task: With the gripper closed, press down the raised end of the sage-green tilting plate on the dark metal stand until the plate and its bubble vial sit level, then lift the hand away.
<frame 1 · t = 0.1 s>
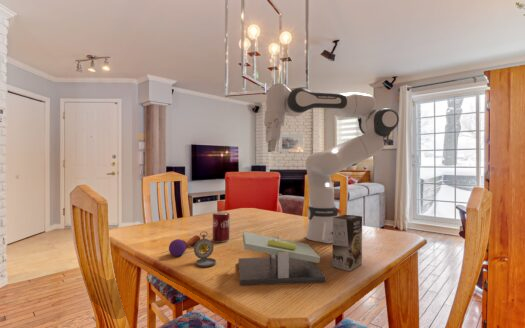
hand: (271, 151, 126), 39 cm above the table, tool pointing down, fingers open, 8 cm apart
coffee box: (347, 266, 93), on the table
levelling plate: (279, 243, 88), point 9 cm above the table, hinge at -12.0°
pocket watch: (205, 263, 95), on the table
kendama: (186, 250, 110), on the table
levelling stand: (278, 271, 87), on the table
soda can: (221, 241, 123), on the table
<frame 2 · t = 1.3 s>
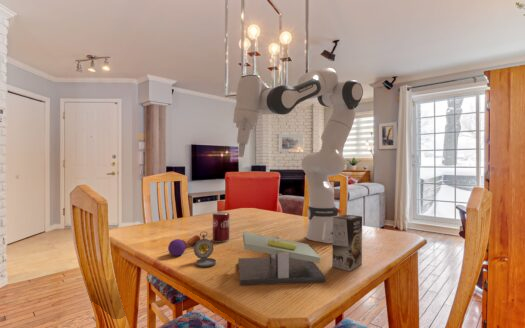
hand: (241, 156, 105), 36 cm above the table, tool pointing down, fingers open, 8 cm apart
nothing on the table moved.
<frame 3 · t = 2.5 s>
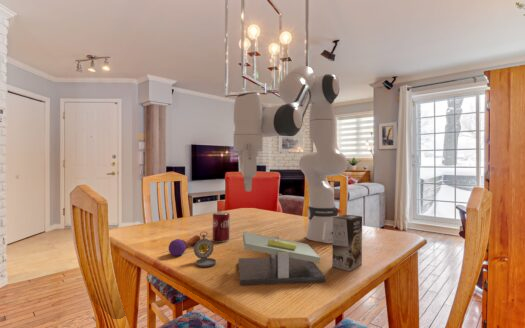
hand: (247, 190, 87), 25 cm above the table, tool pointing down, fingers open, 4 cm apart
nothing on the table moved.
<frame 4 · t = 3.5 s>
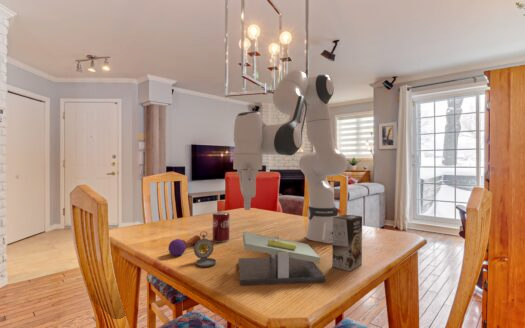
hand: (247, 209, 86), 19 cm above the table, tool pointing down, fingers closed
nothing on the table moved.
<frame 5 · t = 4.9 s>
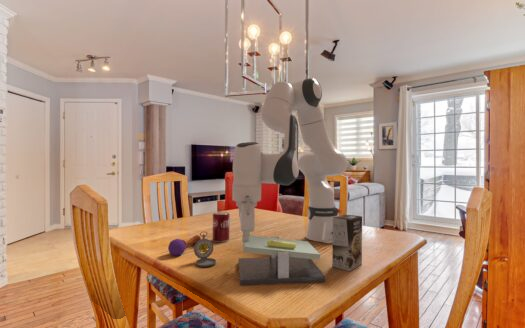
hand: (246, 240, 86), 10 cm above the table, tool pointing down, fingers closed, pressing on levelling plate
levelling plate: (279, 243, 87), point 9 cm above the table, hinge at -7.2°, touching gripper
everything else where it was.
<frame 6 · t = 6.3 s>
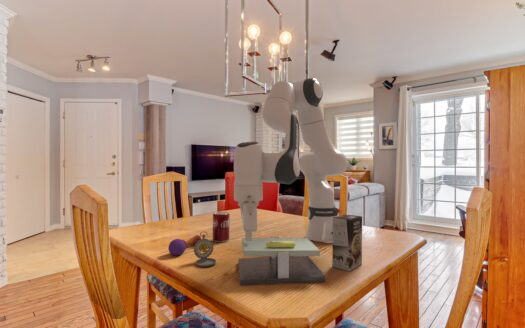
hand: (248, 239, 87), 10 cm above the table, tool pointing down, fingers closed
levelling plate: (278, 243, 87), point 9 cm above the table, hinge at -1.4°
everything else where it was.
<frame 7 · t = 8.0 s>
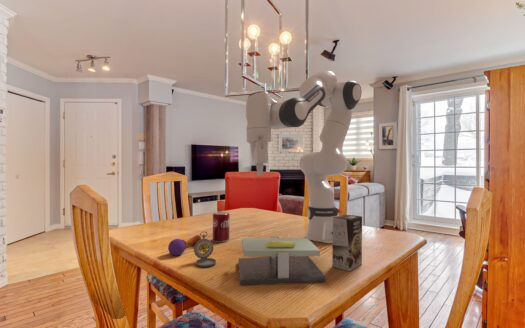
hand: (259, 175, 101), 29 cm above the table, tool pointing down, fingers closed
nothing on the table moved.
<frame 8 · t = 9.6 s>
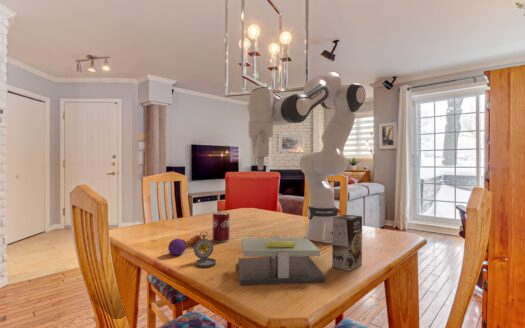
hand: (260, 169, 103), 31 cm above the table, tool pointing down, fingers closed
nothing on the table moved.
at the end: levelling plate at -1° (first picture: -12°); pocket watch moved 0.2 cm from its start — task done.
